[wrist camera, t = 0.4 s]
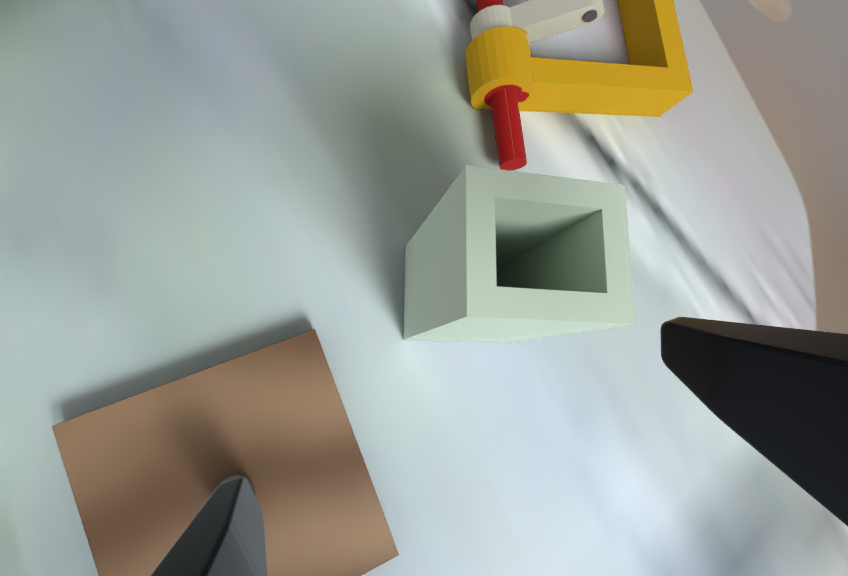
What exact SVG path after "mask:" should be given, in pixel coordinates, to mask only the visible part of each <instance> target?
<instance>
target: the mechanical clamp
mask: <svg viewBox="0 0 848 576" xmlns="http://www.w3.org/2000/svg"><path fill="white" fill-rule="evenodd" d="M617 1H618V6H619V11H620V16H621V21H622V26H623V31H624V37H625V42H626V47H627V52H628V57H629V62H630V65H627V64H614V63H601V62H587V61H574V60H561V59H548V58H535V57H532V56H531V50H530V44H529V43H531V42H535V41H538V40H541V39H544V38H547V37H550V36H554V35H557V34H560V33H563V32H566V31H569V30H572V29H576V28H579V27H582V26H585V25H588V24H591V23H593V22H595V21H597V20H598V19H599V18H601V16H602V15H603V13H604V5H603V0H529V1H526V2H523V3H521V4H518V5H515V6H512V7H507V6H505V5H503V0H477V7H478V13H477V14H476V15H475V16H474V17H473V19H472V21H471V23H470V30H471V38H472V41H471V42H470V43H469V45H468V46H467V48H466V51H465V60H466V68H467V75H468V83H469V90H470V98H471V105H472V106H473V108H474V109H487V110H492V114H493V121H494V129H495V136H496V143H497V150H498V157H499V165H500V169H502V170H509V171H510V170H516V169H519V168H522V167H523V166H525V165H526V163H527V160H526V154H525V147H524V140H523V134H522V127H521V120H520V114H519V111H535V112H558V113H582V114H606V115H630V116H653V117H659V116H661V115H662V114H663V113H665V112H666V111H667V110H669V109H670V108H671V107H673V106H674V105H675V104H677V103H678V102H679V101H681V100H682V99H684V98H685V97H686V96H688V95H689V94H690V93H692V92H693V88H692V84H691V79H690V74H689V70H688V65H687V61H686V56H685V52H684V47H683V42H682V38H681V33H680V29H679V24H678V20H677V15H676V11H675V6H674V1H673V0H617Z"/></svg>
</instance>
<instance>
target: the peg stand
mask: <svg viewBox="0 0 848 576" xmlns="http://www.w3.org/2000/svg"><path fill="white" fill-rule="evenodd" d="M52 428H53V431H54V434H55V437H56V441H57V444H58V447H59V450H60V453H61V457H62V460H63V463H64V466H65V469H66V472H67V476H68V479H69V482H70V485H71V488H72V491H73V495H74V498H75V501H76V504H77V507H78V511H79V514H80V517H81V520H82V523H83V526H84V530H85V533H86V536H87V539H88V542H89V546H90V549H91V552H92V555H93V558H94V561H95V565H96V568H97V571H98V574H99V576H150V575H151V574H152V573H153V572H154V570H155V569H156V568H157V566H158V565H159V564H160V562H161V561H162V560H163V558H164V557H165V556H166V554H167V553H168V552H169V551H170V549H171V548H172V547H173V545H174V544H175V543H176V541H177V540H178V539H179V537H180V536H181V535H182V533H183V532H184V531H185V530H186V528H187V527H188V526H189V524H190V523H191V522H192V520H193V519H194V518H195V516H196V515H197V514H198V512H199V511H200V510H201V509H202V507H203V506H204V505H205V503H206V502H207V501H208V499H209V498H210V497H211V495H212V494H213V493H214V491H215V490H216V489H217V488H218V486H219V485H220V484H222V483H224V482H226V481H229V480H232V479H234V478H237V477H240V476H243V477H245V478H246V479H247V480H248V482H249V484H250V486H251V489H252V491H253V493H254V495H255V497H256V499H257V501H258V503H259V506H260V508H261V511H262V514H263V520H264V533H265V548H266V562H267V576H361V575H363V574H365V573H367V572H369V571H370V570H372V569H374V568H376V567H378V566H379V565H381V564H383V563H385V562H387V561H389V560H390V559H392V558H394V557H396V556H398V555H399V554H398V551H397V549H396V546H395V543H394V541H393V538H392V535H391V532H390V530H389V527H388V524H387V522H386V519H385V516H384V514H383V511H382V508H381V506H380V503H379V500H378V498H377V495H376V492H375V490H374V487H373V484H372V482H371V479H370V476H369V473H368V471H367V468H366V465H365V463H364V460H363V457H362V455H361V452H360V449H359V447H358V444H357V441H356V439H355V436H354V433H353V431H352V428H351V425H350V423H349V420H348V417H347V414H346V412H345V409H344V406H343V404H342V401H341V398H340V396H339V393H338V390H337V388H336V385H335V382H334V380H333V377H332V374H331V372H330V369H329V366H328V364H327V361H326V358H325V355H324V353H323V350H322V347H321V345H320V342H319V339H318V337H317V334H316V331H315V329H314V330H311V331H308V332H305V333H303V334H300V335H297V336H295V337H292V338H289V339H286V340H284V341H281V342H278V343H276V344H273V345H270V346H268V347H265V348H262V349H259V350H257V351H254V352H251V353H249V354H246V355H243V356H240V357H238V358H235V359H232V360H230V361H227V362H224V363H222V364H219V365H216V366H213V367H211V368H208V369H205V370H203V371H200V372H197V373H194V374H192V375H189V376H186V377H184V378H181V379H178V380H175V381H173V382H170V383H167V384H165V385H162V386H159V387H157V388H154V389H151V390H148V391H146V392H143V393H140V394H138V395H135V396H132V397H129V398H127V399H124V400H121V401H119V402H116V403H113V404H111V405H108V406H105V407H102V408H100V409H97V410H94V411H92V412H89V413H86V414H83V415H81V416H78V417H75V418H73V419H70V420H67V421H64V422H62V423H59V424H56V425H54V426H52Z"/></svg>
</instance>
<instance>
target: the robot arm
mask: <svg viewBox="0 0 848 576" xmlns="http://www.w3.org/2000/svg"><path fill="white" fill-rule="evenodd" d="M661 357H662V360H663V362H664V364H665V365H666V366H667V367H668V368H669V369H670V370H671V371H672V372H673V373H674V374H675V375H676V376H677V377H678V378H679V379H680V380H681V381H682V382H683V383H684V384H685V385H686V386H687V387H688V388H689V389H690V390H691V391H692V392H693V393H694V394H695V395H696V396H697V397H698V398H699V399H700V400H701V401H702V402H703V403H704V404H705V405H706V406H707V407H708V408H709V409H710V410H711V411H712V412H713V413H714V414H715V415H716V416H717V417H718V418H719V419H720V420H721V421H723V422H724V423H725V424H726V425H727V426H728V427H730V428H731V429H732V430H733V431H734V432H735V433H737V434H738V435H739V436H740V437H741V438H743V439H744V440H745V441H746V442H747V443H749V444H750V445H751V446H752V447H753V448H755V449H756V450H757V451H758V452H759V453H761V454H762V455H763V456H764V457H765V458H767V459H768V460H769V461H770V462H771V463H773V464H774V465H775V466H776V467H777V468H779V469H780V470H781V471H782V472H783V473H785V474H786V475H787V476H788V477H789V478H790V479H792V480H793V481H794V482H795V483H796V484H798V485H799V486H800V487H801V488H802V489H804V490H805V491H806V492H807V493H808V494H810V495H811V496H812V497H813V498H814V499H816V500H817V501H818V502H819V503H820V504H822V505H823V506H824V507H825V508H826V509H828V510H829V511H830V512H831V513H832V514H834V515H835V516H836V517H837V518H838V519H839V520H841V521H842V522H843V523H844V524H845V525H847V526H848V334H840V333H831V332H821V331H812V330H802V329H793V328H783V327H774V326H764V325H755V324H745V323H736V322H726V321H717V320H707V319H697V318H688V317H677V318H675V319H672V320H669V321H666V322H664V323H663V324H662V326H661ZM150 576H267V562H266V548H265V533H264V520H263V514H262V511H261V508H260V506H259V503H258V501H257V499H256V497H255V495H254V493H253V491H252V489H251V486H250V484H249V482H248V480H247V479H246V478H245V477H243V476H240V477H237V478H234V479H232V480H229V481H226V482H224V483H222V484H220V485H219V486H218V488H217V489H216V490H215V491H214V493H213V494H212V495H211V497H210V498H209V499H208V501H207V502H206V503H205V505H204V506H203V507H202V509H201V510H200V511H199V512H198V514H197V515H196V516H195V518H194V519H193V520H192V522H191V523H190V524H189V526H188V527H187V528H186V530H185V531H184V532H183V533H182V535H181V536H180V537H179V539H178V540H177V541H176V543H175V544H174V545H173V547H172V548H171V549H170V551H169V552H168V553H167V554H166V556H165V557H164V558H163V560H162V561H161V562H160V564H159V565H158V566H157V568H156V569H155V570H154V572H153V573H152V574H151V575H150Z"/></svg>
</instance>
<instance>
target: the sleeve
mask: <svg viewBox="0 0 848 576" xmlns="http://www.w3.org/2000/svg"><path fill="white" fill-rule="evenodd" d="M632 324H635V312H634V299H633V286H632V273H631V260H630V247H629V234H628V221H627V208H626V195H625V185H620V184H612V183H604V182H596V181H588V180H580V179H572V178H564V177H556V176H548V175H540V174H532V173H525V172H517V171H509V170H501V169H493V168H485V167H477V166H469V165H466V166H465V167H464V168H463V170H462V171H461V172H460V174H459V175H458V176H457V178H456V179H455V181H454V182H453V183H452V185H451V186H450V187H449V189H448V190H447V191H446V193H445V194H444V195H443V197H442V198H441V199H440V201H439V202H438V203H437V205H436V206H435V208H434V209H433V210H432V212H431V213H430V214H429V216H428V217H427V218H426V220H425V221H424V222H423V224H422V225H421V226H420V228H419V229H418V230H417V232H416V233H415V234H414V236H413V237H412V239H411V240H410V241H409V243H408V244H407V245H406V247H405V289H404V337H403V340H424V341H456V342H489V343H515V342H522V341H528V340H535V339H541V338H548V337H554V336H561V335H567V334H574V333H580V332H587V331H593V330H600V329H606V328H613V327H619V326H626V325H632Z"/></svg>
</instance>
